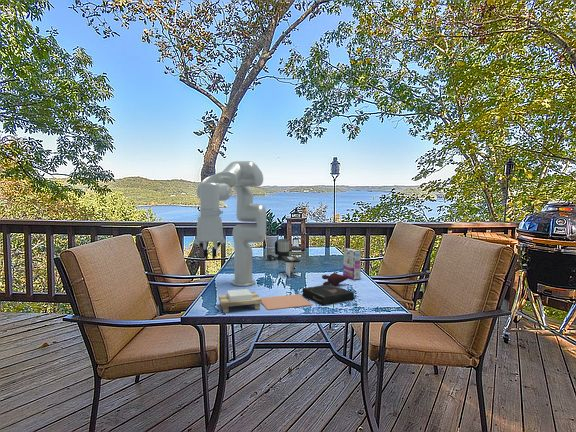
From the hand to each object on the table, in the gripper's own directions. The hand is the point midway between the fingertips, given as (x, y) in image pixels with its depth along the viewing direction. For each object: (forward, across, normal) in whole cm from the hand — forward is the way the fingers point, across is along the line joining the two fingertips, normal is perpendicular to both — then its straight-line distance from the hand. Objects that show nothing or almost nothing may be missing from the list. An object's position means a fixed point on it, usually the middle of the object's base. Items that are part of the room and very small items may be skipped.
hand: (210, 258), depth 135 cm
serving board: (+21, -12, 0) cm, 24 cm away
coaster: (+17, -12, 0) cm, 21 cm away
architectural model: (+22, -52, -49) cm, 75 cm away
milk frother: (+21, -59, -97) cm, 115 cm away
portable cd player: (+22, -53, 0) cm, 57 cm away
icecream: (+21, -67, -19) cm, 72 cm away
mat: (+21, -32, 0) cm, 38 cm away
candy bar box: (+21, -83, -31) cm, 91 cm away
